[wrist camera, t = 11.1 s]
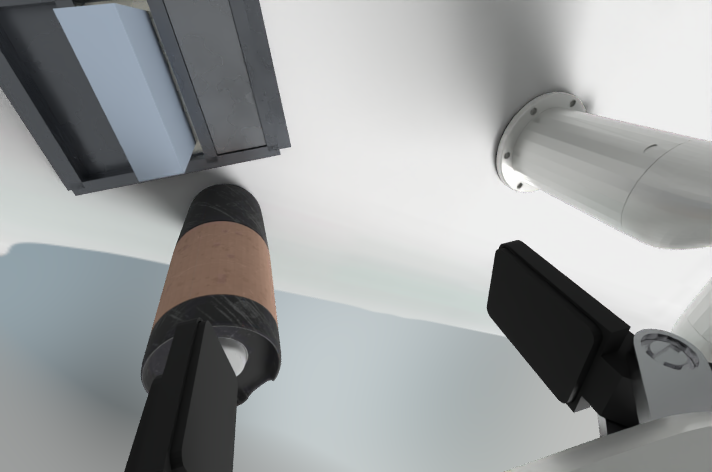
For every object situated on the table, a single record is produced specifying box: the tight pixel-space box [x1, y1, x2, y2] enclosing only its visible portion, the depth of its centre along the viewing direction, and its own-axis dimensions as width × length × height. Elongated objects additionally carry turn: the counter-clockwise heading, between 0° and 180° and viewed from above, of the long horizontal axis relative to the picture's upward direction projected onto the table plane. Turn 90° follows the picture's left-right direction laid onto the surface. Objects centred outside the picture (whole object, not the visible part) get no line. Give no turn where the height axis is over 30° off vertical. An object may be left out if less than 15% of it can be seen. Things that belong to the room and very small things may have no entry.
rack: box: [0, 0, 291, 196], centre depth 26 cm, size 20×14×3 cm
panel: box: [53, 3, 196, 182], centre depth 24 cm, size 3×10×8 cm, turn 6°
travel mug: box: [141, 184, 281, 406], centre depth 27 cm, size 8×8×20 cm
